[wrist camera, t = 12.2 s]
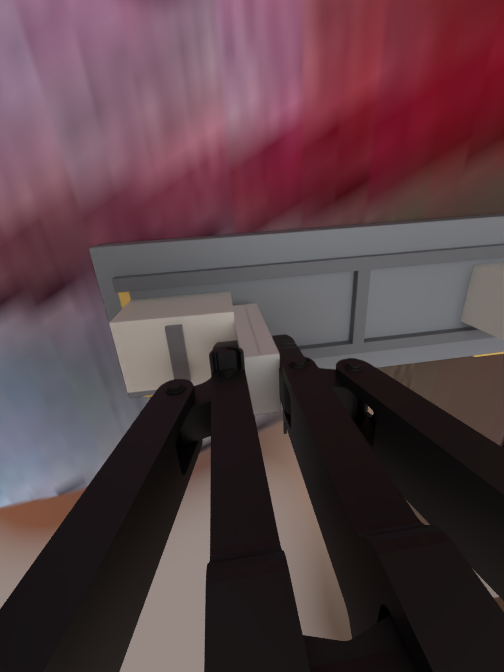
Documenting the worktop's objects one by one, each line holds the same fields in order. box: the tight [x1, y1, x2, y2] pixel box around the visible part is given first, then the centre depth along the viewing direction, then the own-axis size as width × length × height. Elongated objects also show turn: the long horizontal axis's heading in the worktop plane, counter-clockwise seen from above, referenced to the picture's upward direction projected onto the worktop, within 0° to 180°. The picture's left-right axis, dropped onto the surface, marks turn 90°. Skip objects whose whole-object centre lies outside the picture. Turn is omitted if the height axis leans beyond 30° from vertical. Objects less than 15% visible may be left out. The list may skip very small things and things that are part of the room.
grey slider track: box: [89, 214, 504, 398], centre depth 21 cm, size 32×10×3 cm, turn 94°
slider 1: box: [109, 291, 236, 393], centre depth 17 cm, size 6×4×4 cm, turn 93°
